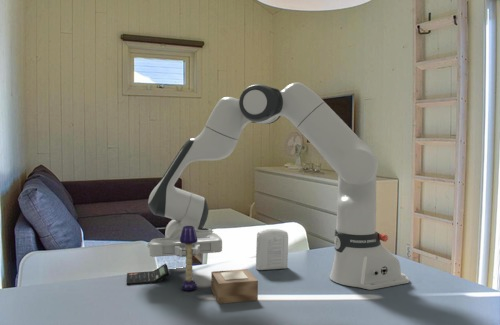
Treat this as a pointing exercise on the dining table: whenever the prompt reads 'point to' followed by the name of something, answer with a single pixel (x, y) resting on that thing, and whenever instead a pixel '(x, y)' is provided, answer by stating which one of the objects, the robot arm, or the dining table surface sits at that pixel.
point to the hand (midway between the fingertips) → (189, 252)
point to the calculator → (148, 276)
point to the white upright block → (272, 249)
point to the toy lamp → (188, 255)
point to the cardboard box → (234, 286)
